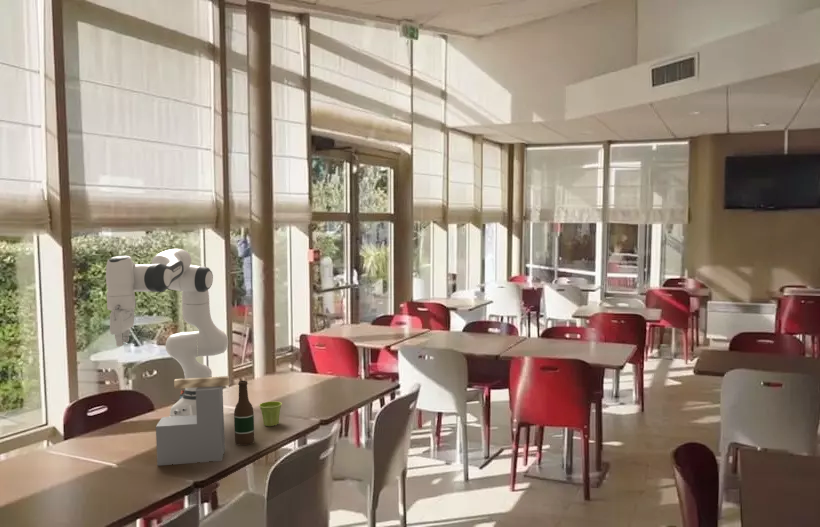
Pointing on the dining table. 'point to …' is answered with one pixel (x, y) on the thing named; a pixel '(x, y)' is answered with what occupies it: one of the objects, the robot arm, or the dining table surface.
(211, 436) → the stand
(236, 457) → the dining table surface
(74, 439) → the dining table surface
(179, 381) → the stick
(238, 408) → the beer bottle
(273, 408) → the plant pot
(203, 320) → the robot arm
